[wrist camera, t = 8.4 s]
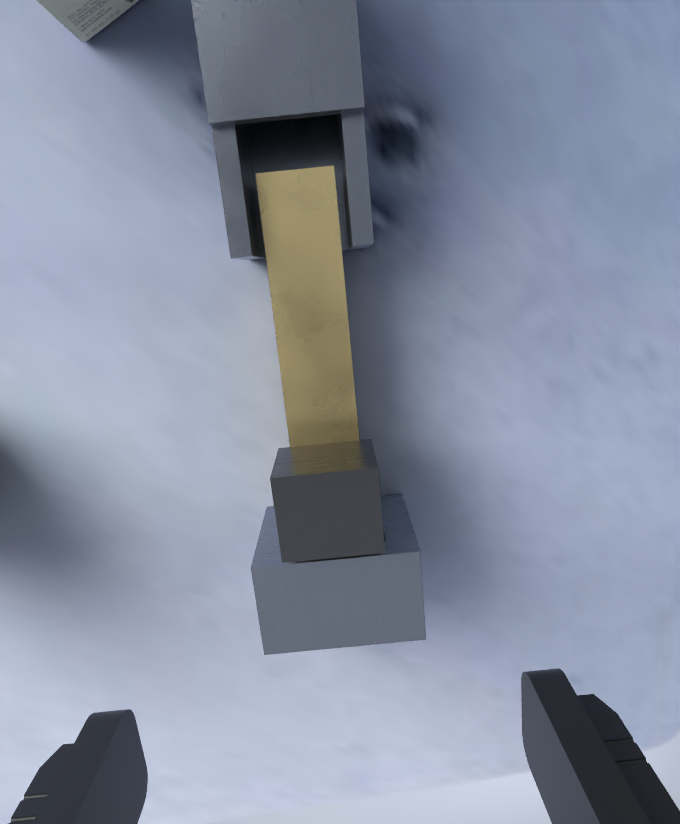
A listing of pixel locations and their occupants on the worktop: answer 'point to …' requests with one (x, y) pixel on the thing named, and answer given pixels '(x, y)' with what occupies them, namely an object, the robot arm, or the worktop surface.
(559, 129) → the worktop surface
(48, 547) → the worktop surface
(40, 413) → the worktop surface
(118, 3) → the skincare box
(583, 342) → the worktop surface
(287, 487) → the yellow bar
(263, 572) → the socket
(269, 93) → the sleeve
